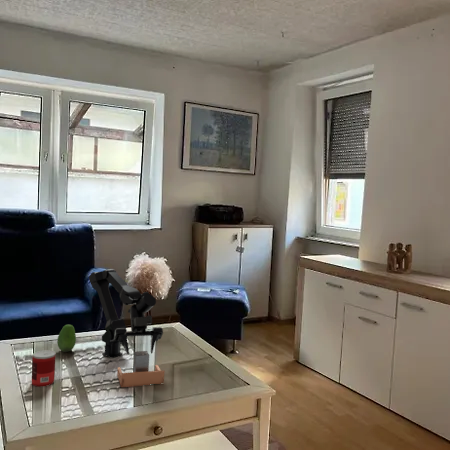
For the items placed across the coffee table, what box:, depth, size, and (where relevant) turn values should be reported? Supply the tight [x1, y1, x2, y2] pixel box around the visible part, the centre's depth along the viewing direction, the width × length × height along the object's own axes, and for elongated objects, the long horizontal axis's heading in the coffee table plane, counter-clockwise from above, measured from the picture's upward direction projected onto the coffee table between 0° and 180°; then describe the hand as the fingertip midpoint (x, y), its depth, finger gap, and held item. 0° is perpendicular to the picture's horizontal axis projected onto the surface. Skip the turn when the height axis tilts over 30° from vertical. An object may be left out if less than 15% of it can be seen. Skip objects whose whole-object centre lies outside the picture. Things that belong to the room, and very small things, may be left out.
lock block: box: [132, 350, 150, 372], centre depth 180 cm, size 5×5×10 cm
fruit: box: [57, 324, 77, 353], centre depth 206 cm, size 8×8×12 cm
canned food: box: [31, 349, 57, 387], centre depth 172 cm, size 8×8×11 cm
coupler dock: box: [116, 364, 166, 388], centre depth 181 cm, size 12×16×5 cm
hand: (140, 353), depth 183 cm, fingers open, 9 cm apart
